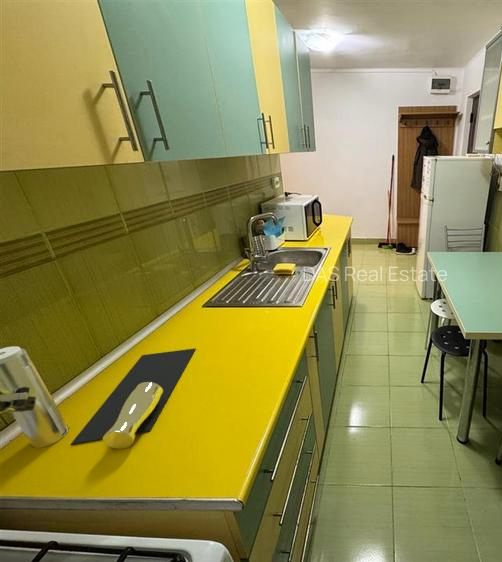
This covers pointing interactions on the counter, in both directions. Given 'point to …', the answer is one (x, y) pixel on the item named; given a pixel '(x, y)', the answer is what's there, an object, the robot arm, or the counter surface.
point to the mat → (147, 369)
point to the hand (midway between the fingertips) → (29, 404)
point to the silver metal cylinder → (45, 416)
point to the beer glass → (133, 415)
